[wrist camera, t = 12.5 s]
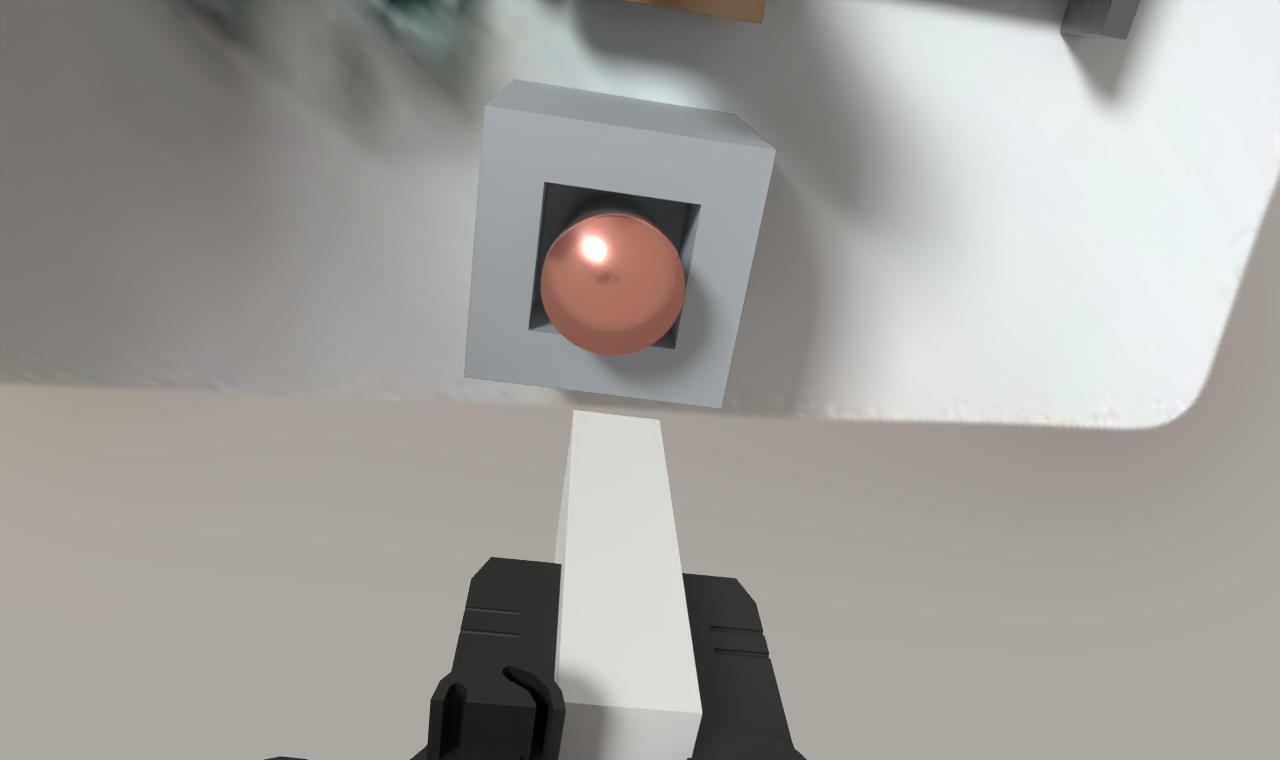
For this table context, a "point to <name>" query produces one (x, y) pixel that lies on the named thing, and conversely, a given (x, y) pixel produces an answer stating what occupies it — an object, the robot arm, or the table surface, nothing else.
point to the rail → (1100, 18)
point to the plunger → (612, 278)
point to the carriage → (716, 7)
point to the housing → (625, 167)
